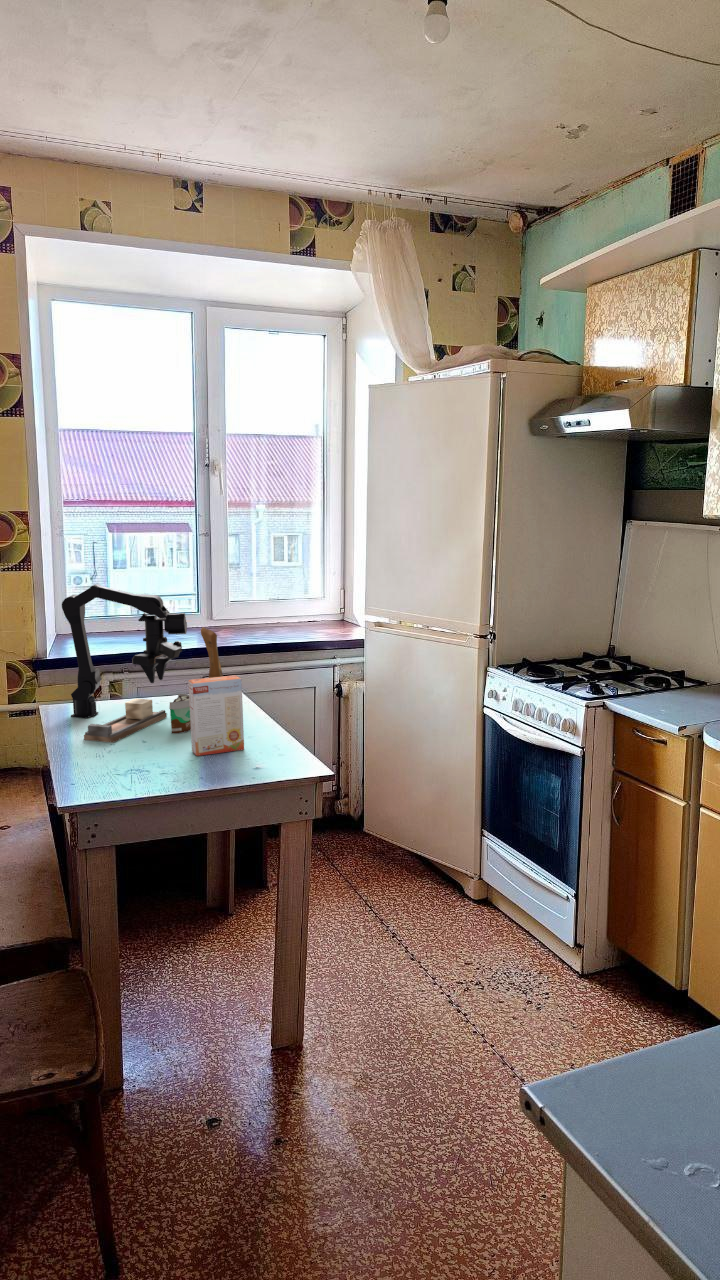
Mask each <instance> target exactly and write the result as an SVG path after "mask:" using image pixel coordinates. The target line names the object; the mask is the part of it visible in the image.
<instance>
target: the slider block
mask: <svg viewBox="0 0 720 1280" xmlns="http://www.w3.org/2000/svg"><path fill="white" fill-rule="evenodd" d="M124 706H125V715H126V718H130V719H141V720H142V719H144V718H146V717H148V716H151V715H153V712H154V710H153V708H154V707H153V699H148V698H146V699H145V698H136V697H135V698H133V699H131V700H128V701H126V702H125V703H124Z"/></svg>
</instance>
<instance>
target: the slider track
mask: <svg viewBox="0 0 720 1280" xmlns="http://www.w3.org/2000/svg"><path fill="white" fill-rule="evenodd" d="M167 714H168V713H167V712H166V710H165V709H162V710H159V711H153V715H151V716H148V717H146V718H144V719H142V720H141V719H130V718H126V714H125V715H122V716H120V717H118V718H115V719H113V720H110V721H108V722H105V723H104V724H100V723H99V724H97V723H90V724H88V725H87V731H85V732H84V735H83V741H93V742H103V743H110V744H111V743H116V742H117V741H120V740H122V739H124V738H126V737H129V736H130V735H132V734H134V733H137V732H138V731H141V730H143V729H145V728H147V727H150V726H151V725H153V724H155V723H158V722H159V721H162V720H164V719H166V718H167V717H168V716H167Z"/></svg>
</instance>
